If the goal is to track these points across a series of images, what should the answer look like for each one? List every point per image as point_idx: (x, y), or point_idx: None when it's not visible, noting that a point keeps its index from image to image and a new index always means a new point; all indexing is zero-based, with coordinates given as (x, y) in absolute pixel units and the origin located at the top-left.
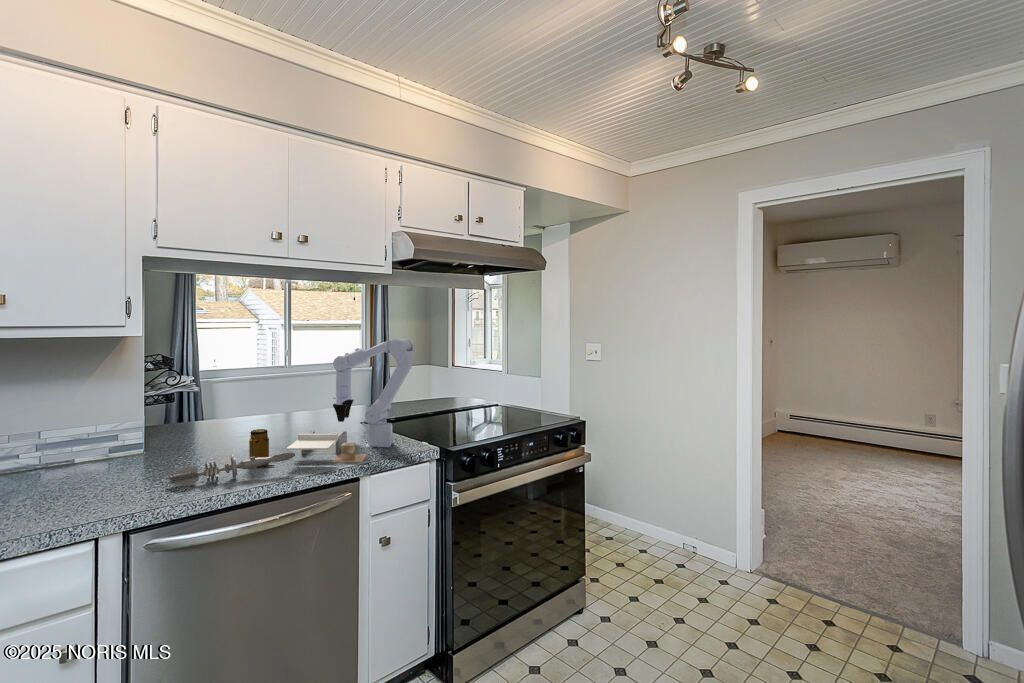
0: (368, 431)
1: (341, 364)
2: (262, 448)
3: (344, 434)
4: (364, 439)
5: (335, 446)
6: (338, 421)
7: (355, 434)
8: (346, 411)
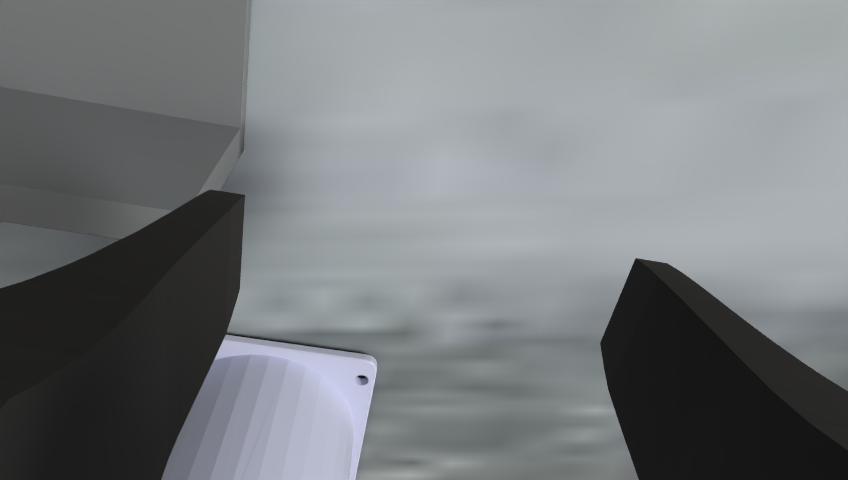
0: (169, 478)
1: None
2: None
3: (26, 214)
4: (538, 314)
5: (150, 21)
6: (200, 195)
7: (831, 224)
8: (661, 417)
